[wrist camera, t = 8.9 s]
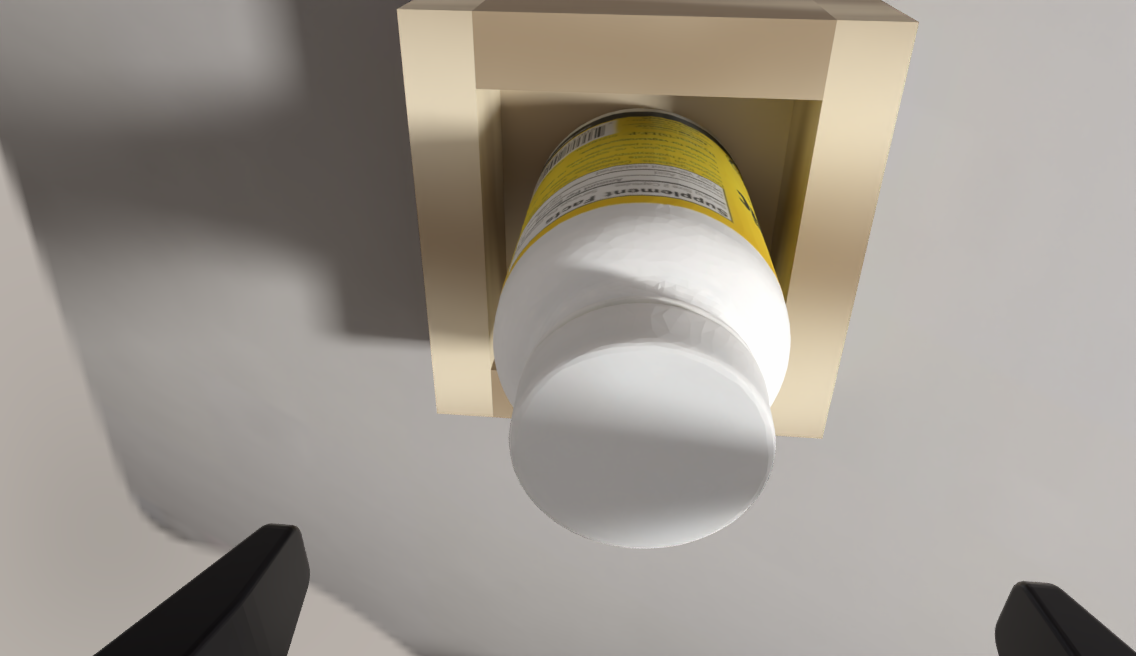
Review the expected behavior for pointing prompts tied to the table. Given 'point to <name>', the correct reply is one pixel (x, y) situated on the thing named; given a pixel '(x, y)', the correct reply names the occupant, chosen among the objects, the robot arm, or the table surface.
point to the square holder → (665, 82)
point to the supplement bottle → (641, 335)
